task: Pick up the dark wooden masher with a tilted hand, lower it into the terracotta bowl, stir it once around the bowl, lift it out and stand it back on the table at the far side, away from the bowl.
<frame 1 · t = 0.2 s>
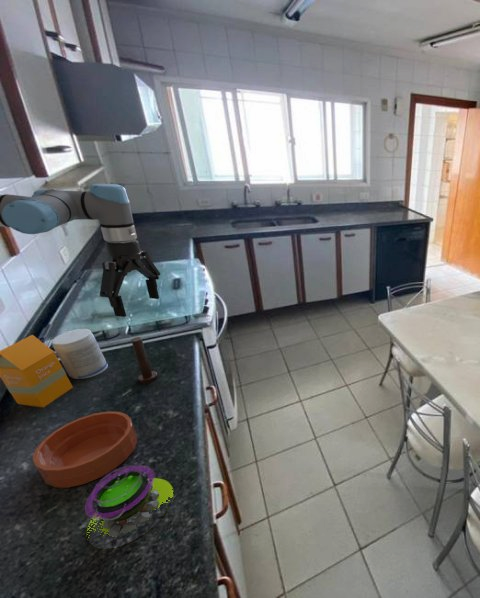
hand: (138, 306, 103), 24 cm above the table, tool pointing down, fingers open, 13 cm apart
bowl: (94, 456, 82), on the table
wooden masher: (149, 380, 109), on the table
orange juice: (48, 399, 98), on the table
toy cauldron: (133, 511, 71), on the table
supplement tub: (90, 373, 110), on the table
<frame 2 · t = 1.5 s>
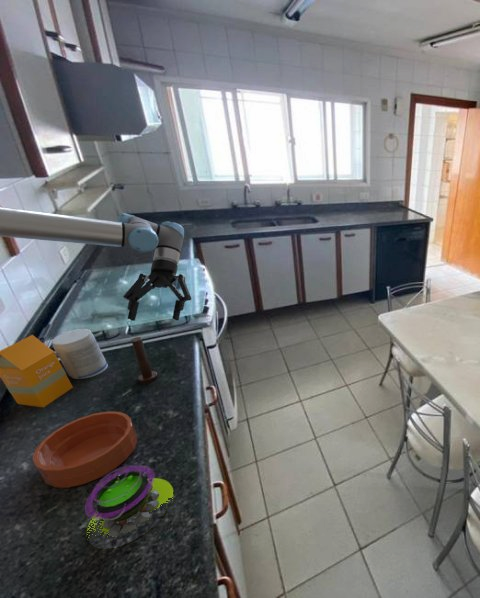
hand: (153, 319, 111), 17 cm above the table, tool tilted 45°, fingers open, 13 cm apart
nothing on the table moved.
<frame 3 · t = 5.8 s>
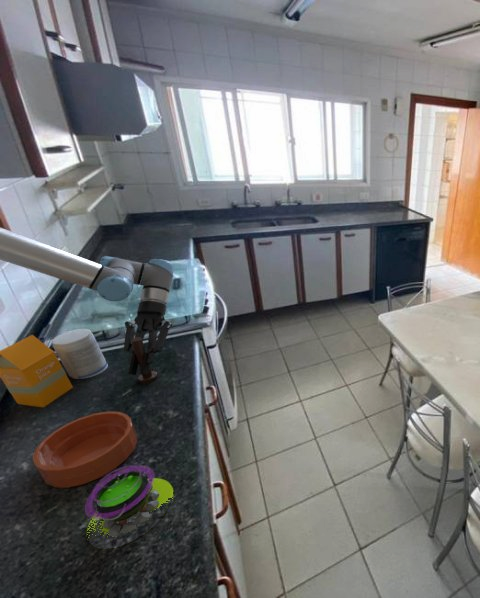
hand: (138, 374, 103), 6 cm above the table, tool tilted 45°, fingers closed on wooden masher, 3 cm apart
wooden masher: (149, 380, 109), on the table, touching gripper
everything else where it was.
when the fingers open (6 cm above the table, at t = 26.9 s): wooden masher stays where it is, on the table.
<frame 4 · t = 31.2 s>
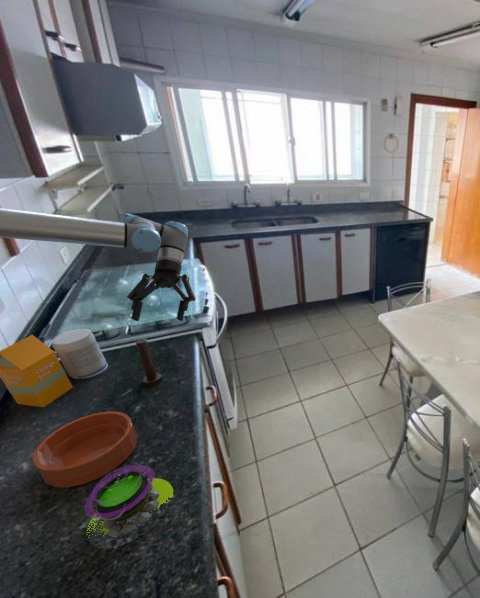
hand: (157, 319, 110), 18 cm above the table, tool tilted 45°, fingers open, 13 cm apart
wooden masher: (153, 382, 108), on the table
everything else where it was.
at the end: wooden masher inside the target area on the table beside the bowl (0.1 cm from its centre), on the table; wooden masher tilted 0°; the gripper is holding nothing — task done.
